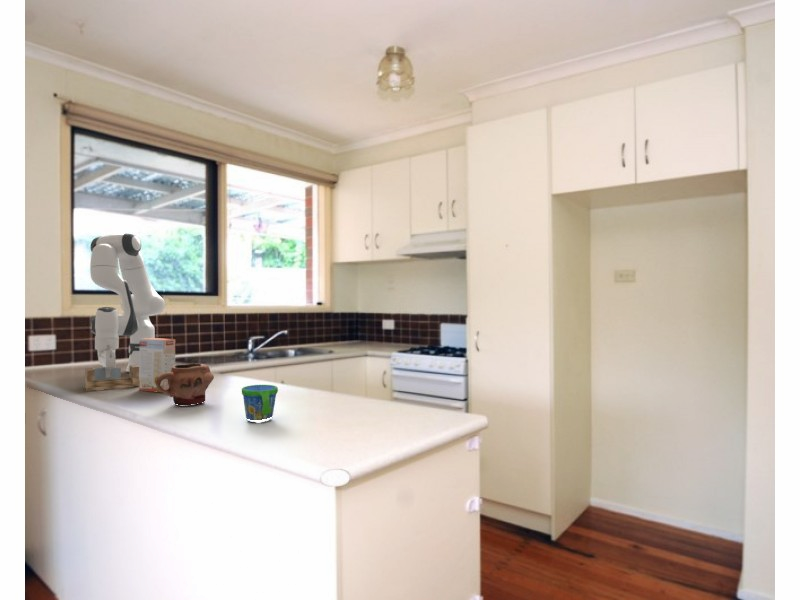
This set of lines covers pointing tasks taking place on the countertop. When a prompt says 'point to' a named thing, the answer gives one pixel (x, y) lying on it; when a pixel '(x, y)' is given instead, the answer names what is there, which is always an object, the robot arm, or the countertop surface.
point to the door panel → (101, 373)
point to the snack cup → (259, 401)
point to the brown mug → (187, 383)
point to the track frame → (111, 380)
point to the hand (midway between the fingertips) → (107, 376)
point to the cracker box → (155, 362)
